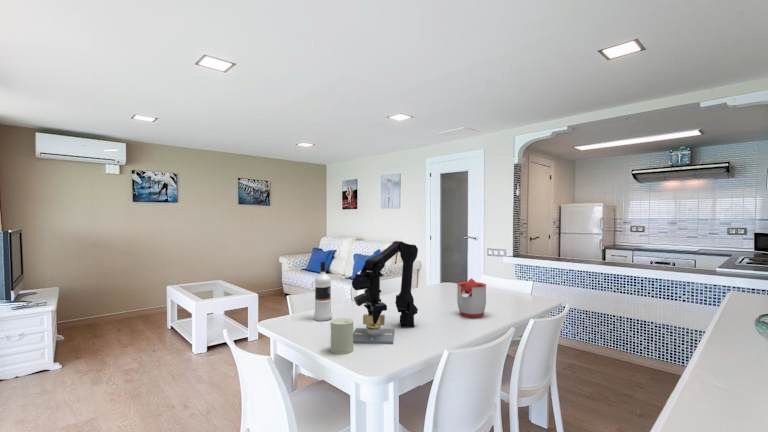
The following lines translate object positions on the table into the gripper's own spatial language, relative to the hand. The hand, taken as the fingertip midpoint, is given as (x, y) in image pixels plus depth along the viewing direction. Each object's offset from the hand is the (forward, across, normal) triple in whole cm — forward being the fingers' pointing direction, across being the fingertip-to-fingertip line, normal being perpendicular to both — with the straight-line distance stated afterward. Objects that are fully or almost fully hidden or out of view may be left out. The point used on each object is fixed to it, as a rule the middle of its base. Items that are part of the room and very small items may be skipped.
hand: (373, 322), depth 163 cm
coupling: (+2, 0, 0) cm, 2 cm away
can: (+7, +11, -17) cm, 21 cm away
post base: (+6, 0, 0) cm, 6 cm away
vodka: (+6, -37, -15) cm, 40 cm away
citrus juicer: (+6, -14, +61) cm, 62 cm away
